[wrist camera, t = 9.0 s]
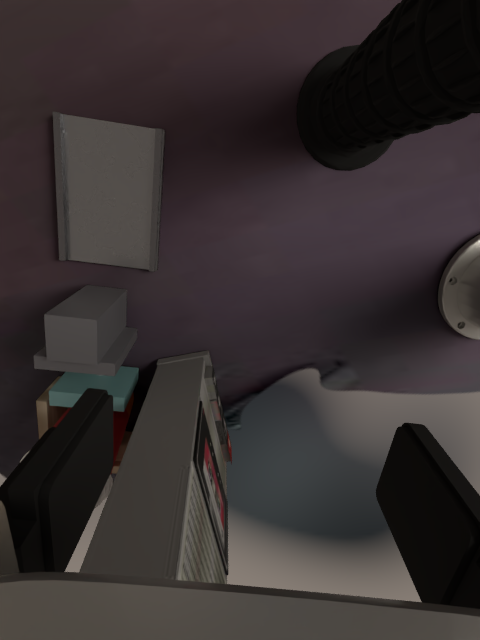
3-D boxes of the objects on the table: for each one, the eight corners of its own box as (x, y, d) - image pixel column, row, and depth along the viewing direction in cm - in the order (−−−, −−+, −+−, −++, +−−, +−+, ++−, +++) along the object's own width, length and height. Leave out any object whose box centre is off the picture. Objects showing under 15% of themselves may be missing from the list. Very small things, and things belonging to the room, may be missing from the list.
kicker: (141, 291, 36) (116, 322, 27) (138, 380, 39) (114, 432, 31) (72, 283, 35) (23, 312, 27) (75, 374, 39) (33, 425, 30)
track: (165, 131, 32) (163, 129, 31) (157, 269, 36) (155, 271, 35) (57, 114, 31) (51, 111, 30) (63, 257, 35) (58, 260, 34)
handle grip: (280, 78, 31) (318, 188, 34) (512, -389, 6) (567, 182, 9) (387, 23, 30) (416, 142, 33) (1227, -839, 5) (995, -6, 8)
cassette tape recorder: (232, 444, 45) (241, 724, 21) (186, 452, 45) (144, 739, 21) (210, 348, 40) (191, 575, 16) (158, 358, 40) (65, 596, 16)
